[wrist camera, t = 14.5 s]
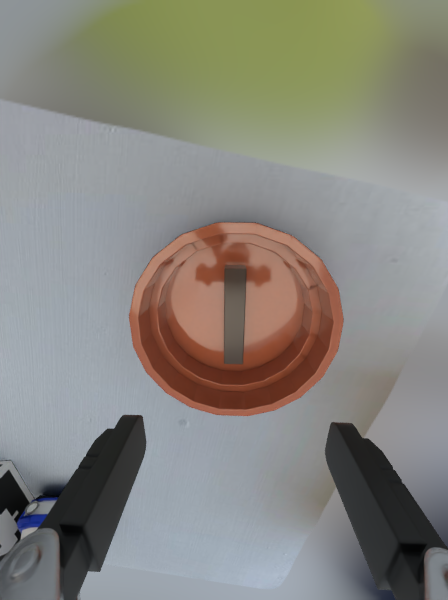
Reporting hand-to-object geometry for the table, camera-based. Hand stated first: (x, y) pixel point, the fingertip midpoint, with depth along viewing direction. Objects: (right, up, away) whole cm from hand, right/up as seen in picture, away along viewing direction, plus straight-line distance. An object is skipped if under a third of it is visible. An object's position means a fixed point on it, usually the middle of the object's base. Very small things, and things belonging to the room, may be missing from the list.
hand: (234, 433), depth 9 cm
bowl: (+1, +5, +14) cm, 15 cm away
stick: (+1, +4, +13) cm, 14 cm away
